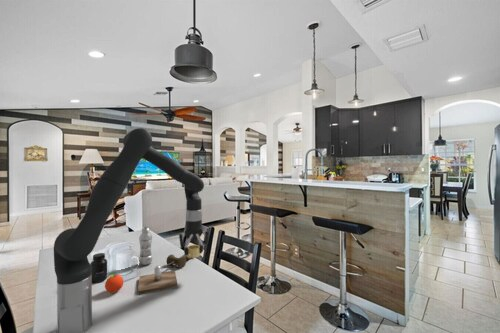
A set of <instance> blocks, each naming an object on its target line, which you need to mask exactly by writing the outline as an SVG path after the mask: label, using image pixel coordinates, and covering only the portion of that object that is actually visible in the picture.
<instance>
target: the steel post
mask: <svg viewBox="0 0 500 333" xmlns="http://www.w3.org/2000/svg"><path fill="white" fill-rule="evenodd" d="M161 273H162V267H161V265H156V266H155V267H154V272H153V274H154V275H155V281H160V280H161V279H162V278H161Z"/></svg>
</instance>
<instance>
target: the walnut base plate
mask: <svg viewBox="0 0 500 333" xmlns="http://www.w3.org/2000/svg"><path fill="white" fill-rule="evenodd" d="M161 278H162V279H161V280H160V281H155V275H154V273H151V274H145V275H140V276H139V281H138V286H137V287H138V288H137V296H138V295H144V294H148V293H154V292H159V291H164V290H170V289H174V288H178V279H177V275H176V270H175V269H174V270H168V271H163V272H162V271H161Z"/></svg>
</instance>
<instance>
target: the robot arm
mask: <svg viewBox="0 0 500 333" xmlns="http://www.w3.org/2000/svg"><path fill="white" fill-rule="evenodd" d="M122 143H123V146H122V149H121V152H119V154H118V155H117V157H116V158H115V159H114V160H113V161H112V162H111V164H109V165H108V166H107V167H106V169H105V170H104V171H103V173H102V174H101V175H100V177H99V179H98V180H97V182H96V183H95V185H94V186H93V188H92V190H91V193H90V196H89V199H88V204H87V208H86V211H85V214H84V215H83V217H82V219H81V220H80V222H79V223H78V225H77V226H76V227H72V228H68V229H65V230H63V231H61V232H60V233H59V234H58V235H57V237H56V238H55V240H54V243H53V266H54V273H55V276H56V295H57V296H56V297H57V299H56V307H57V309H56V310H57V311H56V313H57V314H56V316H57V319H56V320H57V323H56V324H57V333H85V332H86V331H88V329H90V328H91V327H92V324H93V302H92V301H93V293H92V292H93V291H92V290H93V288H92V287H93V283H92V269H91V265H90V263H91V262H90V261H89V258H88V256H89V255H90V254H91V253H92V252H93V251H94V249H95V247H96V245H97V242H98V241H99V237H100V236H101V233H102V231H103V228H104V227H105V224H106V222H107V220H108V219H109V218H110V216H111V214H112V212H113V210H114V209H115V206H116V205H117V203H118V201H119V200H120V199H121V197H122V195H123V194H124V192H125V190H126V188H127V186H128V184H129V182H130V181H131V179H132V176H133V174H134V172H135V170H136V168H137V166H138V164H139V162H140V161H141V160H142V159H143V160H145V161H147V162H149V164H152V165H154V166H155V167H156V168H159V169H160V170H161V171H163V172H164V173H165V174H166V175H168V176H169V177H170V178H171V179H174V181H175V182H179V183H181V184H183V186H184V187H183V188H184V194H185V199H186V200H185V201H186V203H185V204H186V206H185V207H186V212H185V231H184V232H179V233H178V237H179V244H180V248H183V253H184V254H186V255H188V246H189V244H190V242H191V241H198V242H199V246H200V254H202V253H203V252H204V245H206V244H208V240H209V239H208V238H209V231H208V230H207V229H206V230H203V213H202V198H201V197H200V196H199V195H200V194H199V193H200V192H202V191H203V190H204V187H205V183H204V181H203V179H202V178H200V177H199V176H198V175H196V174H195V173H193V172H191V171H189V170H188V169H187V168H186V167H184V165H182V164H180V163H179V162H178V161H177V160H175V159H173V158H171V157H169V156H167V155H165V154H164V153H162V152H159V151H158V150H157V149H156V148H154V147H153V146H152V143H153V137H152V134H151V132H150V131H149V130H148V129H146V128H143V127H142V128H141V127H140V128H138V127H137V128H135V129H132V130H131V131H129V132H128V133H127V134H125V135H124V136H123V139H122ZM202 235H203V240H202V239H201V237H202ZM184 237H186V239H185V242H184V241H183V240H184Z"/></svg>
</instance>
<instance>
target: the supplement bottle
mask: <svg viewBox="0 0 500 333" xmlns="http://www.w3.org/2000/svg"><path fill="white" fill-rule="evenodd" d="M89 263H90V265H91V269H92V284H98V283H101V282H104V281H106V280H105V279H108V260H107V258H106V254H105V253H104V252H97V253H95V254H93V256H92V261H90V262H89Z"/></svg>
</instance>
